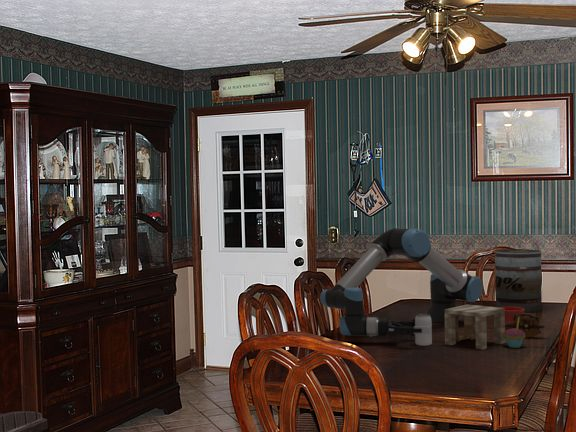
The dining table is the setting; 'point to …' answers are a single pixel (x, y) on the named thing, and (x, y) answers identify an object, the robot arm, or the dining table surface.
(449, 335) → the stool
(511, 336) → the cupcake
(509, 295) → the barrel
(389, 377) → the dining table surface
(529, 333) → the wooden carving
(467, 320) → the gate leg
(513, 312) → the flower pot
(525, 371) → the dining table surface
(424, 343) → the can
